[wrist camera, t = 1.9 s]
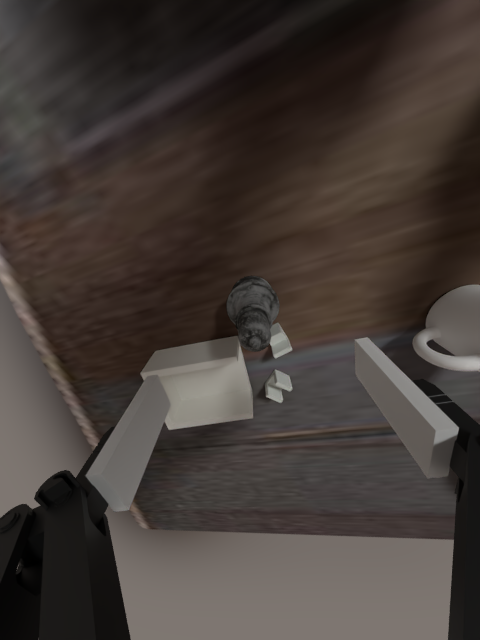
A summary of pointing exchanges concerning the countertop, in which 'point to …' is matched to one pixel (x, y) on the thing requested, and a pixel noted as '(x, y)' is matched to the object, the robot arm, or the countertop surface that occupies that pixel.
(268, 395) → the clip
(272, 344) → the clip
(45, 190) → the countertop surface
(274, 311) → the grey tapered rounded piece
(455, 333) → the mug
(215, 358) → the end holder
